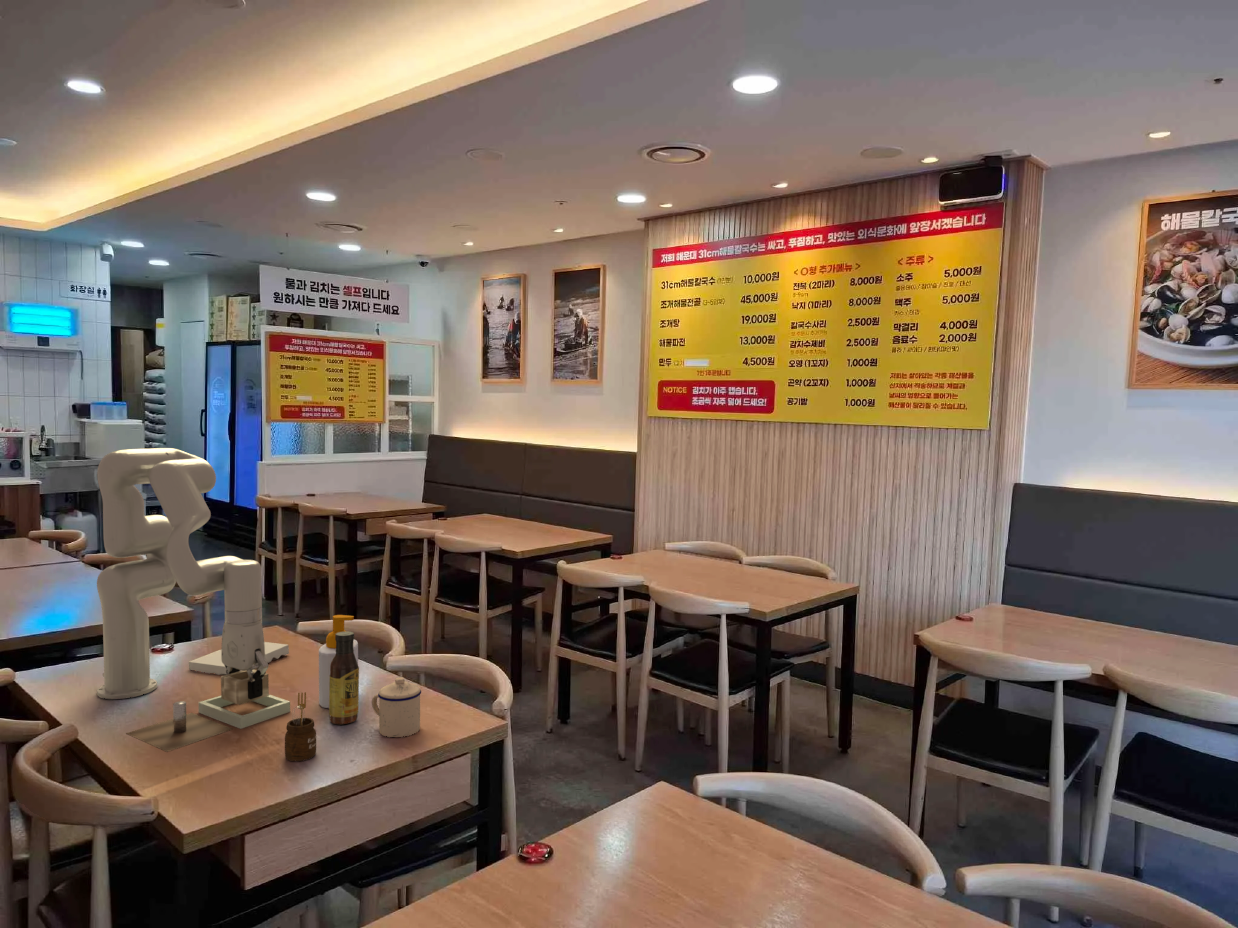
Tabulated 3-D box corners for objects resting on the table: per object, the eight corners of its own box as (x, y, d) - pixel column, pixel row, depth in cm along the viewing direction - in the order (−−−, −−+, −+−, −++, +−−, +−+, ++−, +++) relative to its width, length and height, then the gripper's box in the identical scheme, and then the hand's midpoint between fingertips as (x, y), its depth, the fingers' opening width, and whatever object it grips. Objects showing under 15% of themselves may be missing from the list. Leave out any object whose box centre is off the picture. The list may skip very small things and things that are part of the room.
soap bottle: (345, 709, 187) (345, 623, 186) (310, 708, 188) (310, 623, 186) (365, 689, 201) (365, 609, 199) (332, 688, 201) (332, 609, 199)
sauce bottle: (349, 727, 177) (348, 638, 176) (323, 724, 178) (323, 636, 177) (364, 716, 183) (364, 630, 182) (339, 713, 185) (339, 628, 183)
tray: (198, 718, 180) (198, 702, 180) (248, 702, 190) (248, 687, 190) (240, 735, 172) (240, 717, 171) (290, 717, 182) (290, 701, 181)
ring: (221, 698, 179) (220, 676, 179) (250, 689, 185) (249, 668, 185) (239, 704, 176) (239, 682, 175) (268, 695, 182) (268, 673, 181)
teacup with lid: (429, 726, 178) (429, 675, 177) (403, 741, 170) (403, 687, 169) (386, 717, 183) (386, 667, 182) (358, 731, 175) (358, 679, 174)
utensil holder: (283, 763, 158) (282, 704, 158) (287, 750, 165) (286, 693, 164) (314, 760, 160) (314, 701, 159) (317, 747, 166) (317, 691, 165)
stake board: (125, 740, 168) (125, 733, 168) (191, 719, 180) (191, 712, 180) (167, 759, 160) (167, 751, 159) (233, 735, 171) (233, 728, 171)
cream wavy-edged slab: (234, 680, 208) (289, 656, 227) (233, 667, 208) (288, 644, 227) (189, 673, 213) (246, 650, 232) (188, 661, 213) (246, 639, 232)
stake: (171, 731, 169) (170, 703, 169) (182, 727, 171) (182, 700, 171) (177, 734, 168) (177, 706, 168) (188, 730, 170) (188, 702, 170)
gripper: (205, 613, 181) (207, 691, 182) (251, 625, 172) (252, 706, 173) (236, 607, 187) (238, 682, 188) (282, 618, 178) (283, 696, 179)
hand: (245, 693), depth 180 cm, fingers closed on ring, 7 cm apart
